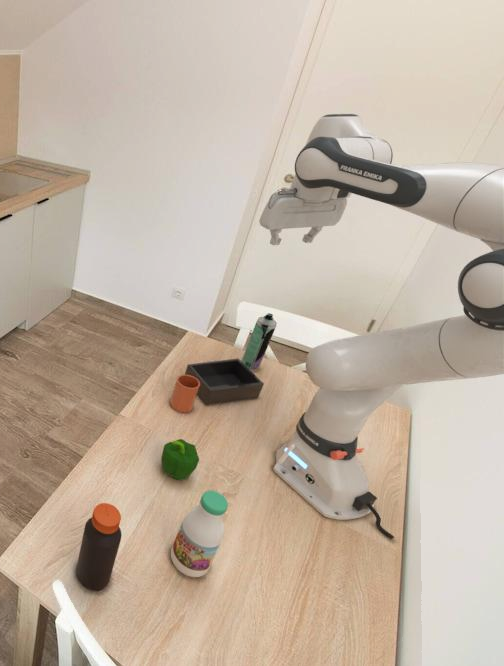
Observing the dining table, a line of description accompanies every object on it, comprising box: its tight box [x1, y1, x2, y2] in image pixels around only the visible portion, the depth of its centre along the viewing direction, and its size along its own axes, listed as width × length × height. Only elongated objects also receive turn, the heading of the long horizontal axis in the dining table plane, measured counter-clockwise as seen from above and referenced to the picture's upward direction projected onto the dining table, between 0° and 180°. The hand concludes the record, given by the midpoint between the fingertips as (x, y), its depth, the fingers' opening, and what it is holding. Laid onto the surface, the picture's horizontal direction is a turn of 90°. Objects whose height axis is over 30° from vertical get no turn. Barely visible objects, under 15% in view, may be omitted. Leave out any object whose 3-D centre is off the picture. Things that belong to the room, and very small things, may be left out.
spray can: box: [240, 312, 278, 372], centre depth 149 cm, size 6×6×20 cm
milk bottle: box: [170, 490, 229, 578], centre depth 93 cm, size 8×8×20 cm
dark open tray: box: [184, 358, 265, 406], centre depth 144 cm, size 13×18×6 cm
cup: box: [169, 374, 200, 413], centre depth 136 cm, size 6×6×9 cm
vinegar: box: [75, 502, 123, 592], centre depth 90 cm, size 7×7×20 cm
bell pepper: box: [160, 438, 200, 481], centre depth 115 cm, size 8×8×10 cm
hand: (290, 243), depth 119 cm, fingers open, 8 cm apart
